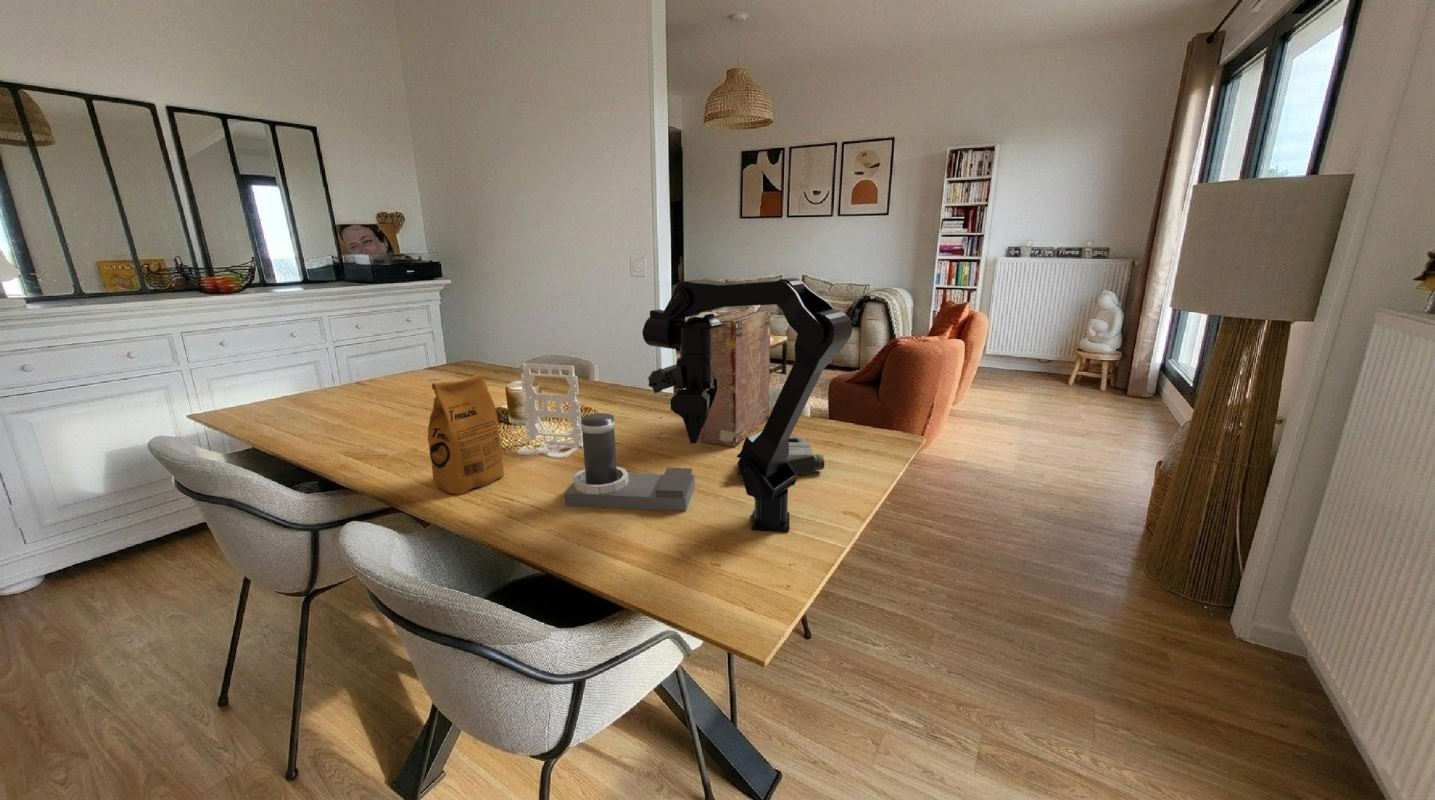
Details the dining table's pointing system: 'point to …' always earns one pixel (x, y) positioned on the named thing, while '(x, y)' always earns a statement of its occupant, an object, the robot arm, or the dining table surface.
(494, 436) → the coffee package
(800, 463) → the camcorder
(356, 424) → the dining table surface
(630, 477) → the grey stepped base
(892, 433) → the dining table surface
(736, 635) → the dining table surface
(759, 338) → the book
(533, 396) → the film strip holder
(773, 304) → the robot arm
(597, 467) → the dark grey cylinder
